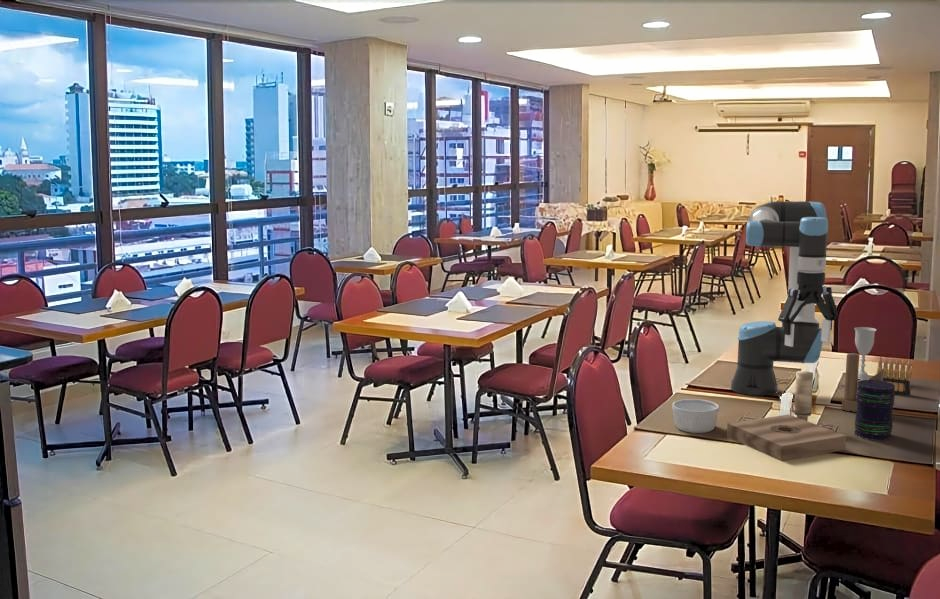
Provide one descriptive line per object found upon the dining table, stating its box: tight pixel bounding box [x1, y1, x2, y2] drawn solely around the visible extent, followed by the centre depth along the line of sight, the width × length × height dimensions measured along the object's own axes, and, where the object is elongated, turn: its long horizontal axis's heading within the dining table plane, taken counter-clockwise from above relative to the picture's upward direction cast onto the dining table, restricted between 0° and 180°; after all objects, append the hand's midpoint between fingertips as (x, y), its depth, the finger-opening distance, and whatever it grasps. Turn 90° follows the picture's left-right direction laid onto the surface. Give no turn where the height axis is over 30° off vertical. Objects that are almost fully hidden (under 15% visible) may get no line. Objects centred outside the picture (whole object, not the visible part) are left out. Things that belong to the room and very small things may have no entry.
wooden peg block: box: [841, 352, 884, 413], centre depth 278 cm, size 4×11×18 cm, turn 53°
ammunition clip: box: [876, 356, 912, 396], centre depth 301 cm, size 11×2×12 cm, turn 56°
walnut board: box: [726, 414, 847, 462], centre depth 250 cm, size 22×22×4 cm
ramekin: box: [671, 398, 720, 434], centre depth 264 cm, size 13×13×7 cm
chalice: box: [853, 326, 877, 381], centre depth 320 cm, size 7×7×18 cm
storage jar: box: [854, 380, 896, 441], centre depth 256 cm, size 10×10×15 cm
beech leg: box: [793, 370, 814, 422], centre depth 265 cm, size 5×5×16 cm
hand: (807, 344), depth 262 cm, fingers open, 13 cm apart
